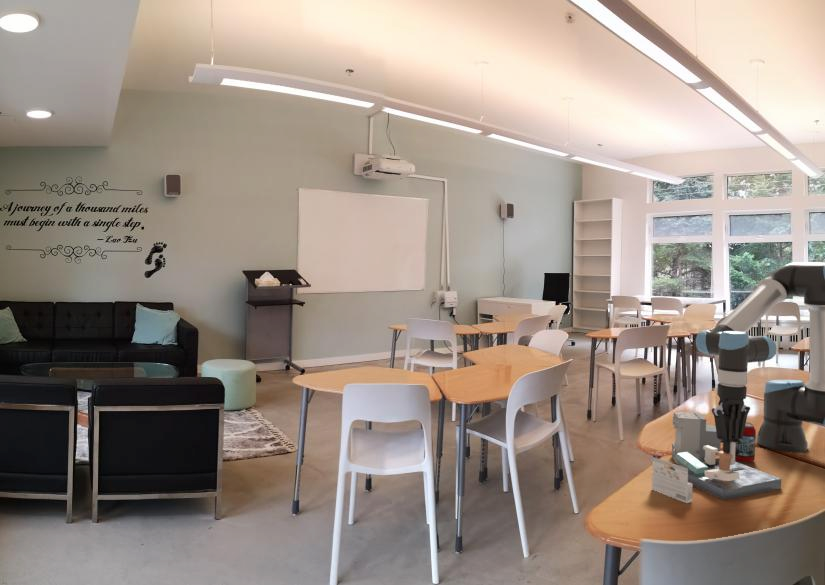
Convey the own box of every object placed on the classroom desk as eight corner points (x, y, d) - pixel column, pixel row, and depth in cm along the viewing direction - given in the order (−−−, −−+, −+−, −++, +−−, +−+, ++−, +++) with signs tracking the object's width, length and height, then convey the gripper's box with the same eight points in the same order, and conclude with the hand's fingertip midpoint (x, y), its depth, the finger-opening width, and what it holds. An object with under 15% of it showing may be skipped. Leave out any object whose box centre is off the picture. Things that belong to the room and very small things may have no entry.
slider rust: (721, 467, 174) (722, 450, 174) (732, 471, 171) (732, 454, 171) (716, 468, 174) (717, 451, 173) (727, 472, 170) (727, 455, 170)
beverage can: (732, 461, 189) (733, 425, 188) (729, 455, 195) (730, 420, 195) (756, 464, 187) (757, 427, 186) (752, 458, 193) (754, 422, 192)
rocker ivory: (716, 475, 168) (715, 468, 168) (740, 478, 161) (739, 471, 161) (704, 477, 166) (703, 470, 167) (727, 481, 159) (726, 474, 159)
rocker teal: (686, 456, 178) (688, 451, 178) (707, 471, 171) (709, 466, 171) (674, 458, 177) (676, 453, 176) (695, 474, 169) (696, 468, 169)
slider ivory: (707, 461, 180) (708, 445, 179) (717, 465, 176) (718, 448, 176) (702, 461, 179) (703, 445, 179) (712, 465, 176) (713, 449, 175)
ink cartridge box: (656, 488, 168) (657, 455, 167) (692, 502, 158) (693, 466, 158) (651, 490, 166) (651, 456, 166) (687, 504, 157) (688, 468, 156)
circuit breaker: (725, 467, 184) (727, 420, 183) (677, 464, 187) (678, 417, 186) (718, 459, 192) (719, 414, 191) (671, 456, 194) (673, 411, 194)
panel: (723, 466, 185) (724, 456, 185) (783, 489, 166) (783, 478, 166) (669, 475, 177) (670, 465, 177) (725, 501, 159) (726, 489, 158)
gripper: (737, 380, 177) (734, 456, 179) (704, 383, 173) (701, 461, 174) (759, 385, 170) (756, 464, 172) (726, 388, 166) (723, 470, 167)
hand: (729, 462), depth 173 cm, fingers closed
